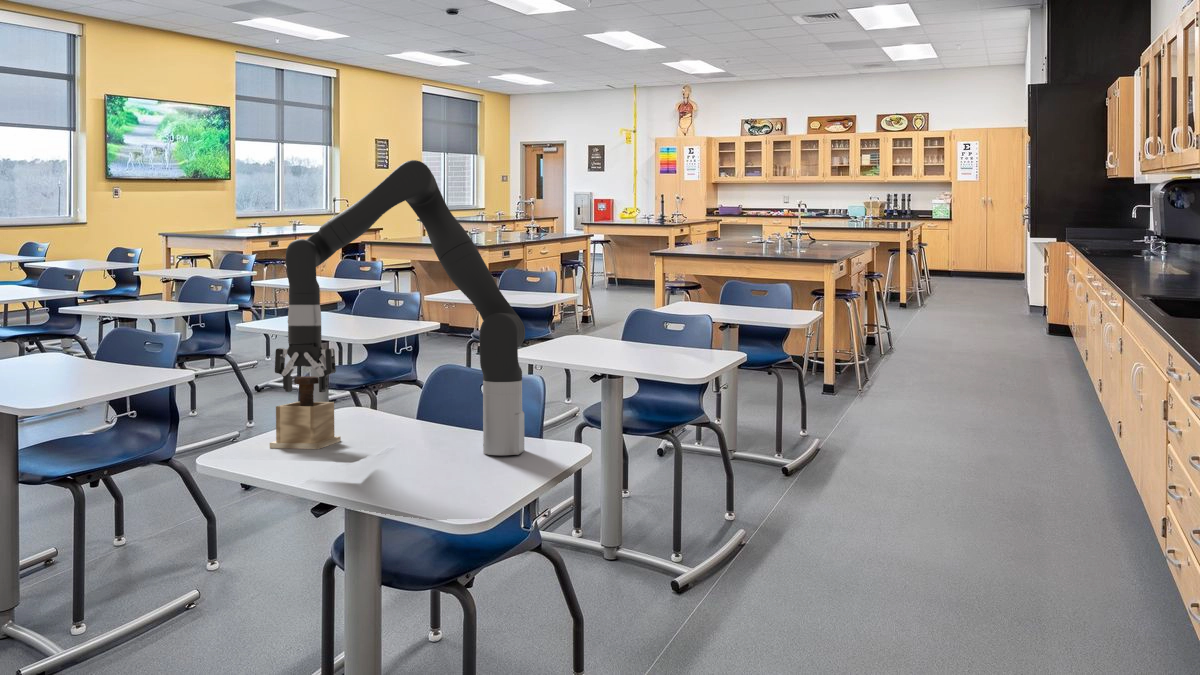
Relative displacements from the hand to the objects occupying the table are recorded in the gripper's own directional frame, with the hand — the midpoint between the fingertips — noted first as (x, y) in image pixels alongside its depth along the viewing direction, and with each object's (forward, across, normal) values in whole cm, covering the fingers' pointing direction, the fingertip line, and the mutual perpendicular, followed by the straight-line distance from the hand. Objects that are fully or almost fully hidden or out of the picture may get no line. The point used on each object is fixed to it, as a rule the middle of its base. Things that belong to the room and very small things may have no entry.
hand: (305, 391), depth 207 cm
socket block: (+13, 0, 0) cm, 13 cm away
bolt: (+12, 0, 0) cm, 12 cm away
